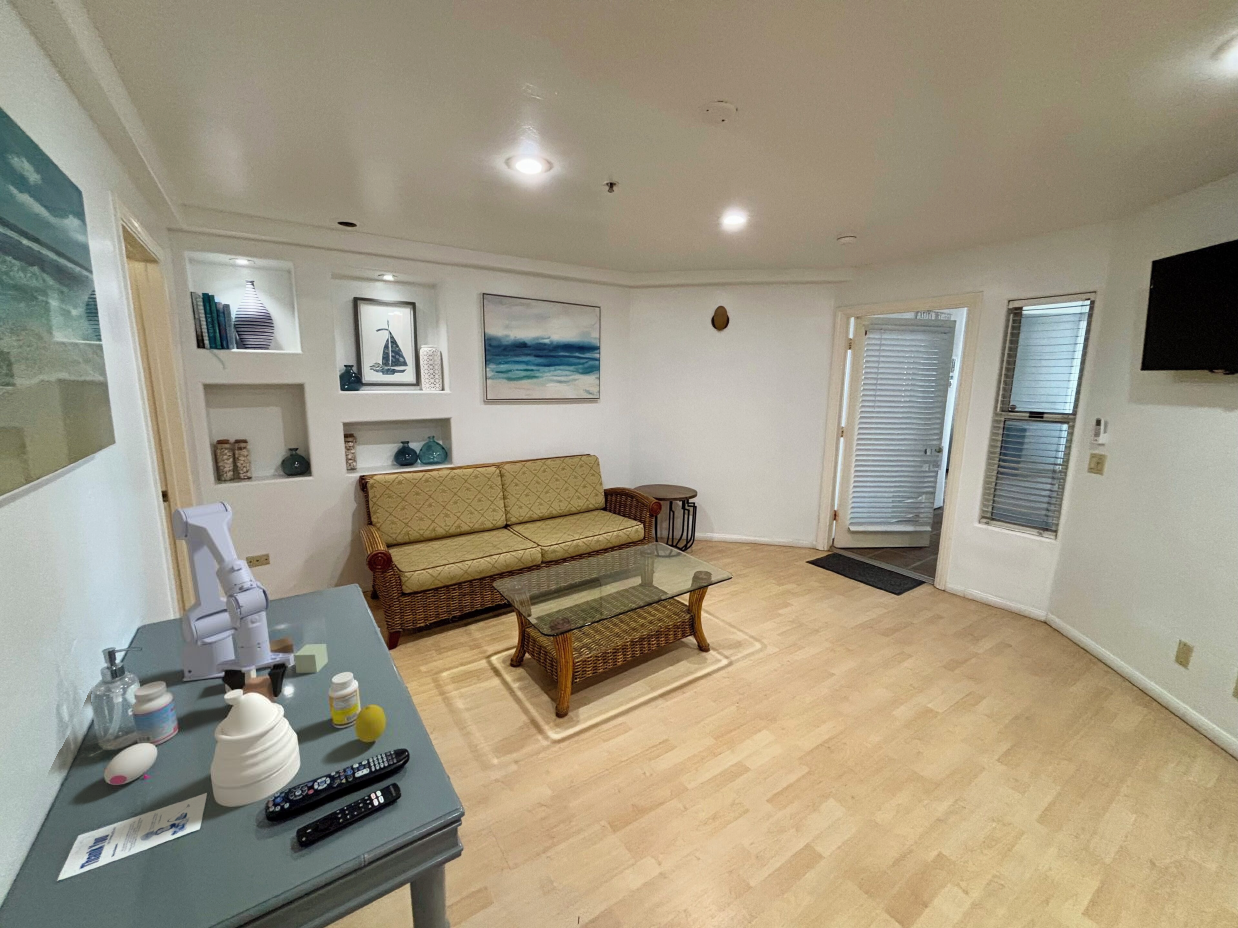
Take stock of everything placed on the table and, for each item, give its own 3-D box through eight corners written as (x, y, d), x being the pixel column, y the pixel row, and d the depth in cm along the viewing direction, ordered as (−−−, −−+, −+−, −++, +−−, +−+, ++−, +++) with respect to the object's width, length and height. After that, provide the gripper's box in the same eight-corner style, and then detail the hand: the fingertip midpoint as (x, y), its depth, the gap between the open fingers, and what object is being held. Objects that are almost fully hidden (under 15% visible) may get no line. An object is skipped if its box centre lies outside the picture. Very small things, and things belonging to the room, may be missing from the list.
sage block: (296, 673, 121) (294, 655, 121) (308, 662, 126) (306, 644, 126) (317, 672, 122) (314, 654, 121) (327, 661, 127) (325, 643, 126)
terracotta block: (242, 711, 107) (239, 690, 106) (254, 697, 112) (251, 677, 111) (268, 708, 108) (265, 687, 108) (278, 694, 113) (276, 674, 112)
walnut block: (271, 668, 123) (269, 650, 123) (268, 660, 127) (266, 643, 126) (294, 661, 127) (292, 643, 126) (291, 653, 130) (289, 636, 130)
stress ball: (147, 776, 93) (125, 749, 93) (176, 756, 92) (154, 729, 92) (103, 809, 86) (79, 780, 85) (134, 787, 85) (110, 758, 85)
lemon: (356, 755, 94) (352, 718, 93) (356, 737, 99) (353, 701, 98) (387, 745, 97) (384, 709, 96) (386, 728, 102) (383, 693, 100)
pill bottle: (184, 732, 101) (176, 683, 99) (147, 752, 95) (137, 700, 93) (169, 724, 103) (161, 675, 101) (131, 742, 98) (122, 692, 96)
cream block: (226, 692, 114) (223, 673, 113) (231, 681, 118) (228, 662, 117) (252, 686, 116) (249, 667, 115) (256, 675, 120) (253, 657, 120)
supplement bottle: (340, 712, 107) (336, 669, 105) (366, 711, 107) (362, 668, 105) (326, 729, 101) (321, 685, 100) (353, 729, 102) (349, 684, 100)
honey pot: (232, 819, 81) (217, 721, 78) (201, 785, 87) (187, 695, 84) (313, 767, 91) (303, 680, 88) (281, 741, 98) (270, 659, 95)
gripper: (204, 654, 102) (213, 712, 105) (281, 646, 106) (288, 703, 108) (223, 638, 109) (231, 692, 111) (295, 630, 112) (301, 684, 114)
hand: (260, 696), depth 110 cm, fingers open, 6 cm apart
